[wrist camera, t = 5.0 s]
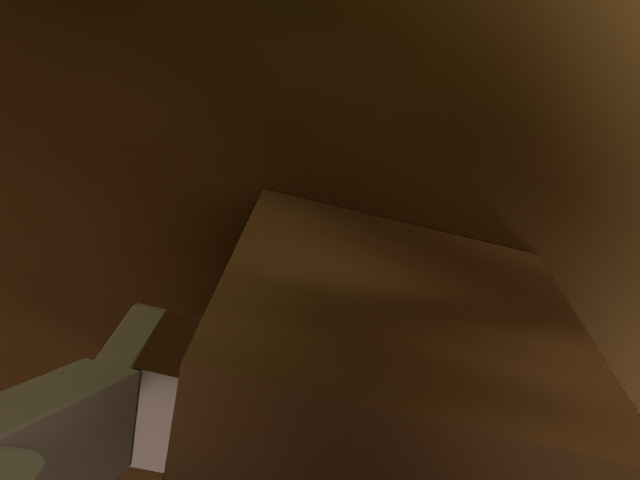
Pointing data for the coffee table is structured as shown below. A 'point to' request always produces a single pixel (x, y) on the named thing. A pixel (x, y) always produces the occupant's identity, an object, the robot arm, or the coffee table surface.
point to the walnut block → (391, 361)
